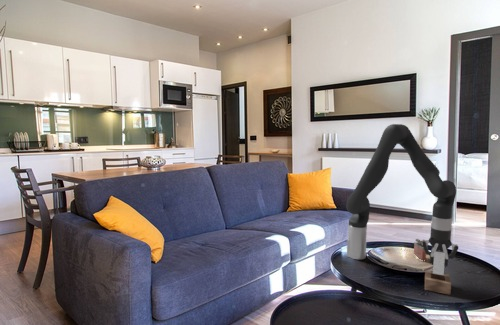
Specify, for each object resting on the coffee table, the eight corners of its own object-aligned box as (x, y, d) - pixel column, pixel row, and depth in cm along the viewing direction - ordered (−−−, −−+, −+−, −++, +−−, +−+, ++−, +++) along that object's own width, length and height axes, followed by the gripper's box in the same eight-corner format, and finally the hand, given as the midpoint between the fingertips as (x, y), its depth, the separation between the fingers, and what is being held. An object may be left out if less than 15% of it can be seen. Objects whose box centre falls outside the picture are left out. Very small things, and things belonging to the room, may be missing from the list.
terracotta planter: (427, 261, 168) (428, 243, 166) (421, 262, 167) (422, 243, 166) (417, 255, 176) (418, 237, 174) (411, 255, 175) (412, 237, 174)
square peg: (432, 273, 140) (434, 251, 139) (432, 269, 144) (433, 248, 142) (443, 275, 138) (445, 252, 137) (443, 271, 142) (444, 249, 141)
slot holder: (424, 290, 140) (425, 279, 139) (424, 280, 148) (425, 270, 148) (450, 295, 136) (451, 284, 135) (448, 285, 144) (449, 274, 143)
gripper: (422, 227, 138) (419, 265, 141) (461, 232, 132) (458, 272, 134) (422, 222, 145) (420, 259, 147) (459, 227, 138) (457, 265, 141)
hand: (438, 265), depth 141 cm, fingers closed on square peg, 4 cm apart
